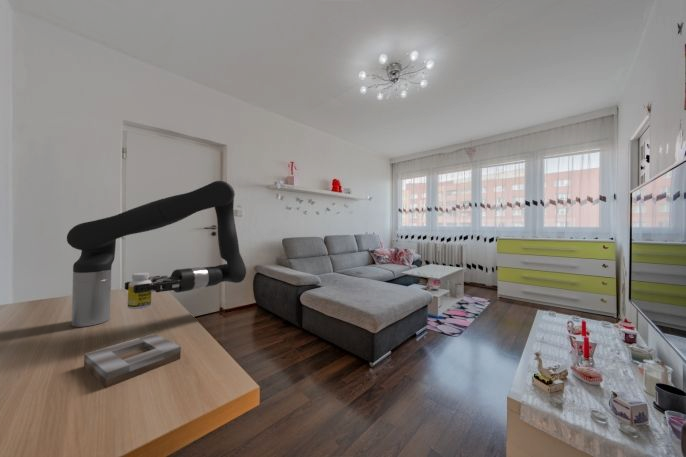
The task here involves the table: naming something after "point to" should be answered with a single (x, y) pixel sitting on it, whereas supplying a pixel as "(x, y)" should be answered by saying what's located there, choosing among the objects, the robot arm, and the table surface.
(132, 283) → the supplement bottle
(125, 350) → the mount block
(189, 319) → the table surface
